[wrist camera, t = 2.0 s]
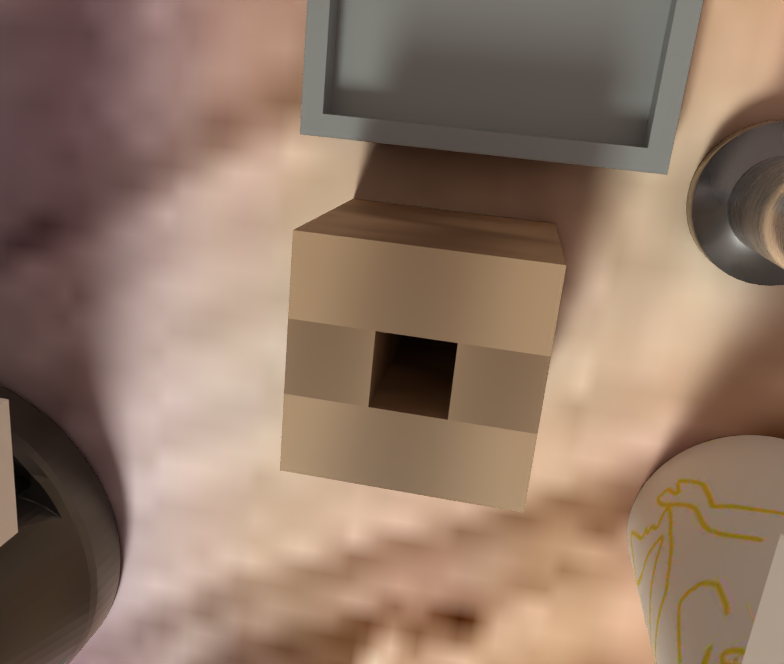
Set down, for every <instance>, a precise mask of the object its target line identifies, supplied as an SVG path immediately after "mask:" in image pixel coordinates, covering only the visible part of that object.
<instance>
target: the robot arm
mask: <svg viewBox="0 0 784 664" xmlns="http://www.w3.org/2000/svg"><path fill="white" fill-rule="evenodd" d="M119 576H120V544H119V537H118V532H117V527H116V523H115V519H114V516H113V512H112V510H111V507H110V504H109V501H108V499H107V497H106V494H105V492H104V490H103V488H102V486H101V484H100V482H99V480H98V478H97V476H96V475H95V473H94V472H93V470H92V468H91V467H90V465H89V464H88V462H87V461H86V459H85V458H84V457H83V455H82V454H81V452H80V451H79V450H78V449H77V447H76V446H75V445H74V444H73V442H72V441H71V440H70V439H69V438H68V437H67V436H66V435H65V434H64V433H63V432H62V431H61V430H60V429H59V428H58V427H57V426H56V425H55V424H54V423H53V422H52V421H51V420H50V419H49V418H47V417H46V416H45V415H44V414H43V413H41V412H40V411H39V410H38V409H36V408H35V407H34V406H32V405H31V404H29V403H28V402H27V401H25V400H24V399H22V398H21V397H19V396H17V395H16V394H14V393H12V392H10V391H9V390H7V389H5V388H3V387H1V386H0V664H69V663H70V662H71V661H72V660H73V659H74V657H75V656H76V655H77V654H78V652H79V651H80V650H81V649H82V648H83V646H84V645H85V644H86V643H87V642H88V640H89V639H90V638H91V637H92V636H93V634H94V633H95V632H96V631H97V629H98V628H99V627H100V626H101V624H102V623H103V621H104V620H105V618H106V616H107V614H108V612H109V611H110V609H111V606H112V604H113V601H114V599H115V595H116V592H117V588H118V583H119ZM742 664H784V534H780V537H779V541H778V544H777V547H776V551H775V554H774V557H773V561H772V564H771V567H770V571H769V574H768V577H767V581H766V584H765V587H764V591H763V594H762V597H761V601H760V604H759V607H758V611H757V614H756V617H755V621H754V624H753V627H752V631H751V634H750V637H749V641H748V644H747V647H746V651H745V654H744V657H743V661H742Z"/></svg>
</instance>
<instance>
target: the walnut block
mask: <svg viewBox="0 0 784 664" xmlns="http://www.w3.org/2000/svg"><path fill="white" fill-rule="evenodd" d="M566 266H567V265H566V261H565V258H564V254H563V250H562V247H561V243H560V239H559V236H558V232H557V228H556V224H555V223H547V222H538V221H530V220H522V219H514V218H505V217H497V216H489V215H481V214H472V213H464V212H456V211H448V210H439V209H431V208H423V207H415V206H406V205H398V204H390V203H382V202H373V201H365V200H357V199H352V200H350V201H348V202H346V203H344V204H342V205H341V206H339V207H337V208H335V209H333V210H331V211H329V212H327V213H325V214H323V215H321V216H319V217H318V218H316V219H314V220H312V221H310V222H308V223H306V224H304V225H302V226H300V227H298V228H296V229H294V230H293V242H292V260H291V279H290V297H289V315H288V334H287V352H286V370H285V388H284V407H283V425H282V443H281V462H280V470H282V471H287V472H293V473H299V474H304V475H310V476H316V477H322V478H327V479H333V480H339V481H344V482H350V483H356V484H362V485H367V486H373V487H379V488H384V489H390V490H396V491H402V492H407V493H413V494H419V495H424V496H430V497H436V498H442V499H447V500H453V501H459V502H464V503H470V504H476V505H482V506H487V507H493V508H499V509H504V510H510V511H516V512H522V513H524V508H525V503H526V497H527V491H528V485H529V479H530V474H531V468H532V462H533V456H534V451H535V445H536V439H537V433H538V427H539V422H540V416H541V410H542V404H543V399H544V393H545V387H546V381H547V375H548V370H549V364H550V358H551V352H552V347H553V341H554V335H555V329H556V323H557V318H558V312H559V306H560V300H561V295H562V289H563V283H564V277H565V272H566Z"/></svg>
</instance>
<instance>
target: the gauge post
mask: <svg viewBox="0 0 784 664" xmlns="http://www.w3.org/2000/svg"><path fill="white" fill-rule="evenodd" d="M686 214H687V222H688V226H689V230H690V233H691V235H692V237H693V240H694V242H695V243H696V245H697V246H698V248H699V250H700V251H701V252H702V253H703V254H704V255H705V257H707V258H708V259H709V260H710V261H711V262H712V263H713V264H715V265H716V266H717V267H718V268H719V269H721V270H722V271H724V272H725V273H727V274H728V275H730V276H732V277H734V278H736V279H739V280H742V281H745V282H748V283H752V284H758V285H770V286H771V285H784V120H774V121H766V122H761V123H756V124H753V125H750V126H748V127H745V128H743V129H741V130H739V131H736V132H734V133H733V134H731V135H730V136H728V137H727V138H725V139H724V140H722V141H721V142H720V143H719V144H717V145H716V146H715V147H714V148H713V149H712V150H711V151H710V152H709V153H708V154H707V156H706V157H705V158H704V160H703V161H702V162H701V164H700V165H699V167H698V169H697V170H696V172H695V174H694V177H693V179H692V181H691V184H690V187H689V191H688V196H687V203H686Z"/></svg>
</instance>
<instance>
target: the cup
mask: <svg viewBox="0 0 784 664" xmlns="http://www.w3.org/2000/svg"><path fill="white" fill-rule="evenodd" d="M780 534H784V439H781V438H776V437H771V436H762V435H737V436H729V437H722V438H718V439H713V440H710V441H707V442H703V443H701V444H698V445H695V446H693V447H691V448H689V449H686V450H685V451H683V452H681V453H679V454H677V455H676V456H674V457H673V458H671V459H670V460H668V461H667V462H666V463H664V464H663V465H662V466H661V467H660V468H659V469H657V470H656V471H655V472H654V474H653V475H652V476H651V477H650V478H649V479H648V480H647V482H646V483H645V484H644V486H643V487H642V489H641V490H640V492H639V494H638V495H637V497H636V499H635V502H634V504H633V506H632V509H631V512H630V516H629V521H628V529H627V542H628V549H629V554H630V559H631V563H632V567H633V571H634V575H635V580H636V584H637V588H638V592H639V597H640V601H641V605H642V609H643V613H644V618H645V622H646V626H647V630H648V635H649V639H650V643H651V647H652V651H653V656H654V660H655V664H742V661H743V657H744V654H745V651H746V647H747V644H748V641H749V637H750V634H751V631H752V627H753V624H754V621H755V617H756V614H757V611H758V607H759V604H760V601H761V597H762V594H763V591H764V587H765V584H766V581H767V577H768V574H769V571H770V567H771V564H772V561H773V557H774V554H775V551H776V547H777V544H778V541H779V537H780Z"/></svg>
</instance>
